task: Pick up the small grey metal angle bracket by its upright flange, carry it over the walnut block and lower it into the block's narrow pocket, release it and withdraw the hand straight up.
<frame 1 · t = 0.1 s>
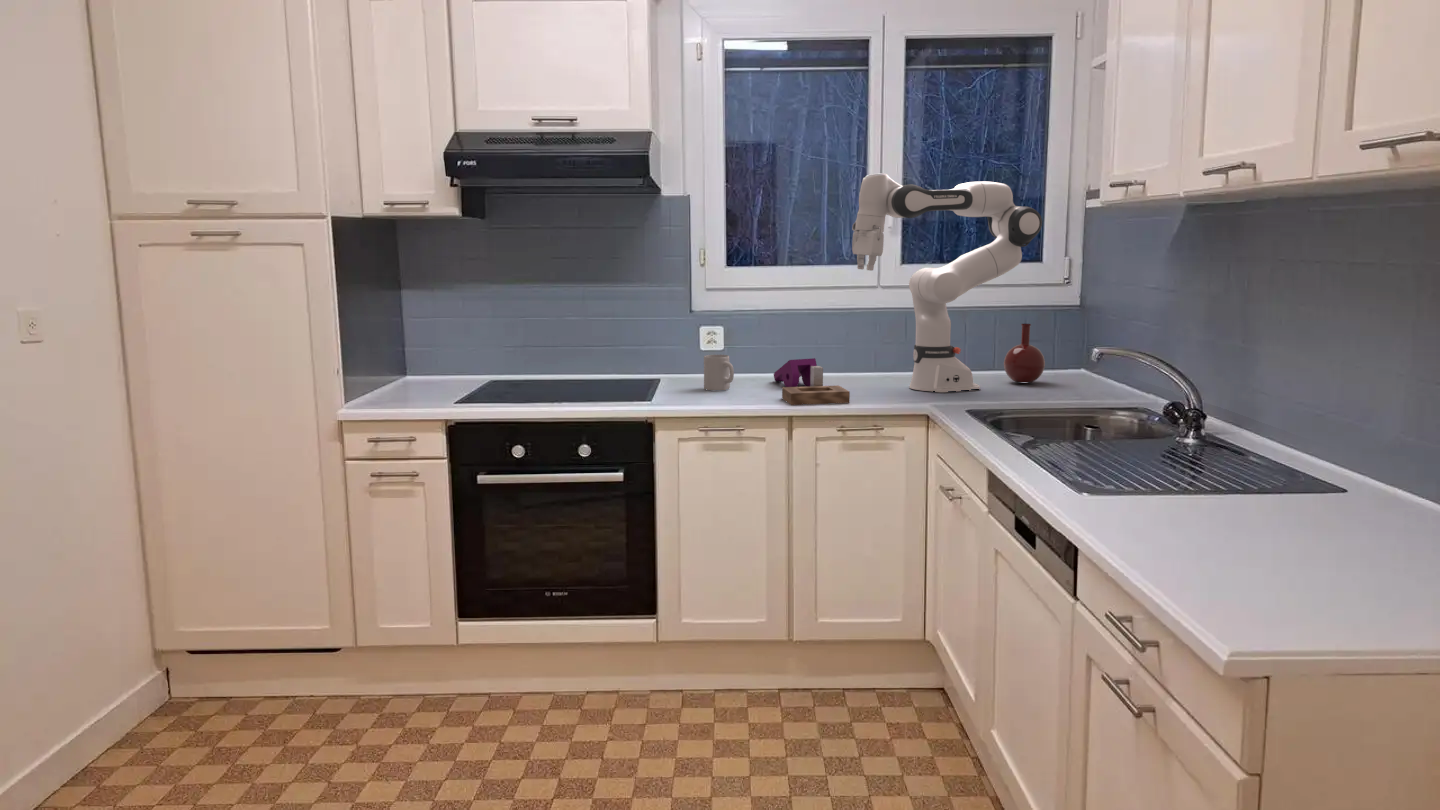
hand: (865, 269, 311), 39 cm above the countertop, tool pointing down, fingers open, 8 cm apart
mounting bracket: (793, 385, 333), on the countertop
well block: (815, 400, 300), on the countertop
angle bracket: (816, 395, 311), on the countertop
round-bottom flask: (1023, 384, 331), on the countertop
mug: (720, 390, 323), on the countertop
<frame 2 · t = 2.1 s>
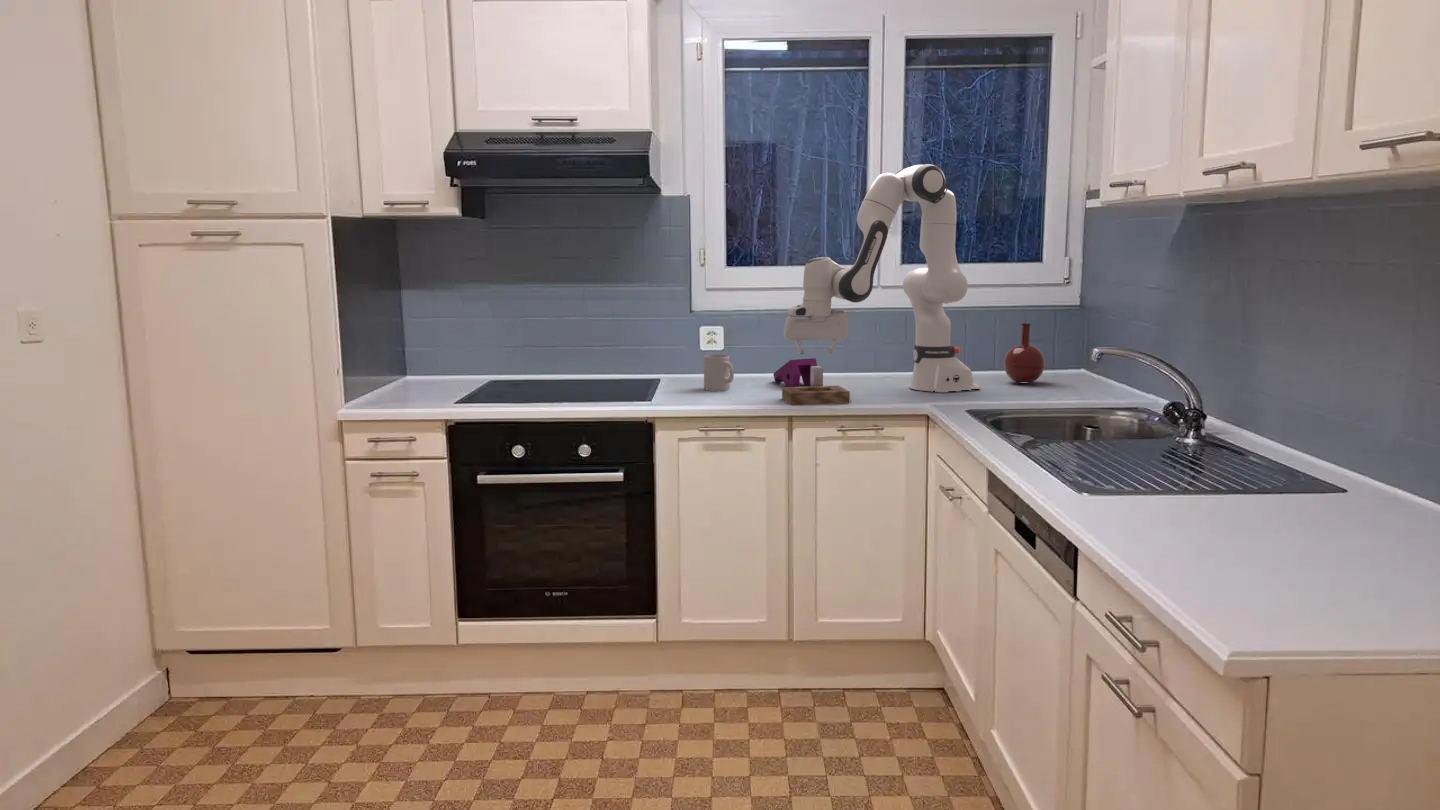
hand: (815, 353, 308), 13 cm above the countertop, tool pointing down, fingers open, 8 cm apart
nothing on the countertop moved.
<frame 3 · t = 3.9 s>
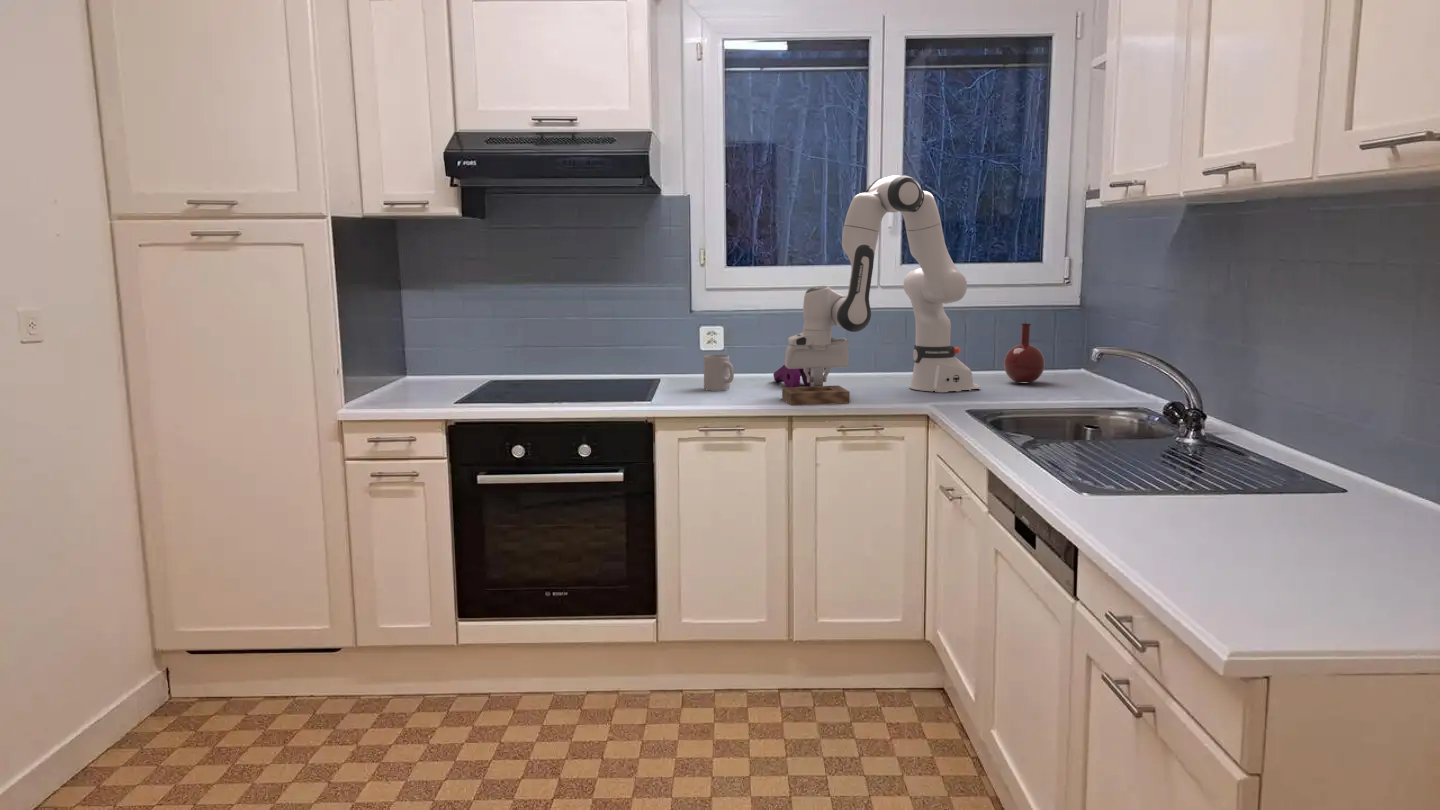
hand: (816, 382, 310), 4 cm above the countertop, tool pointing down, fingers closed on angle bracket, 3 cm apart
angle bracket: (816, 395, 311), on the countertop, touching gripper
everything else where it was.
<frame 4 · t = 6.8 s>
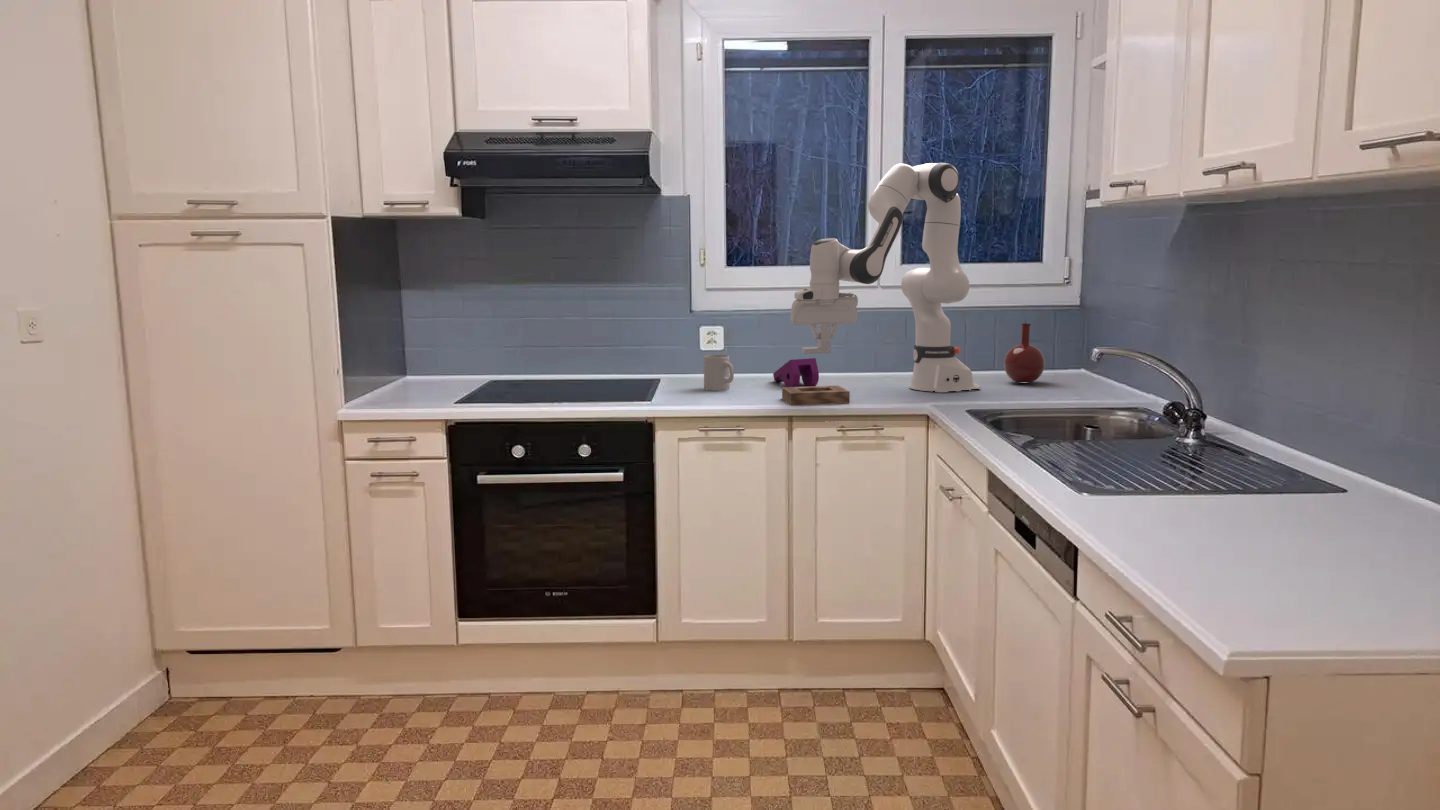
hand: (823, 339, 297), 19 cm above the countertop, tool pointing down, fingers closed on angle bracket, 3 cm apart
angle bracket: (823, 352, 298), point 15 cm above the countertop, touching gripper
everything else where it was.
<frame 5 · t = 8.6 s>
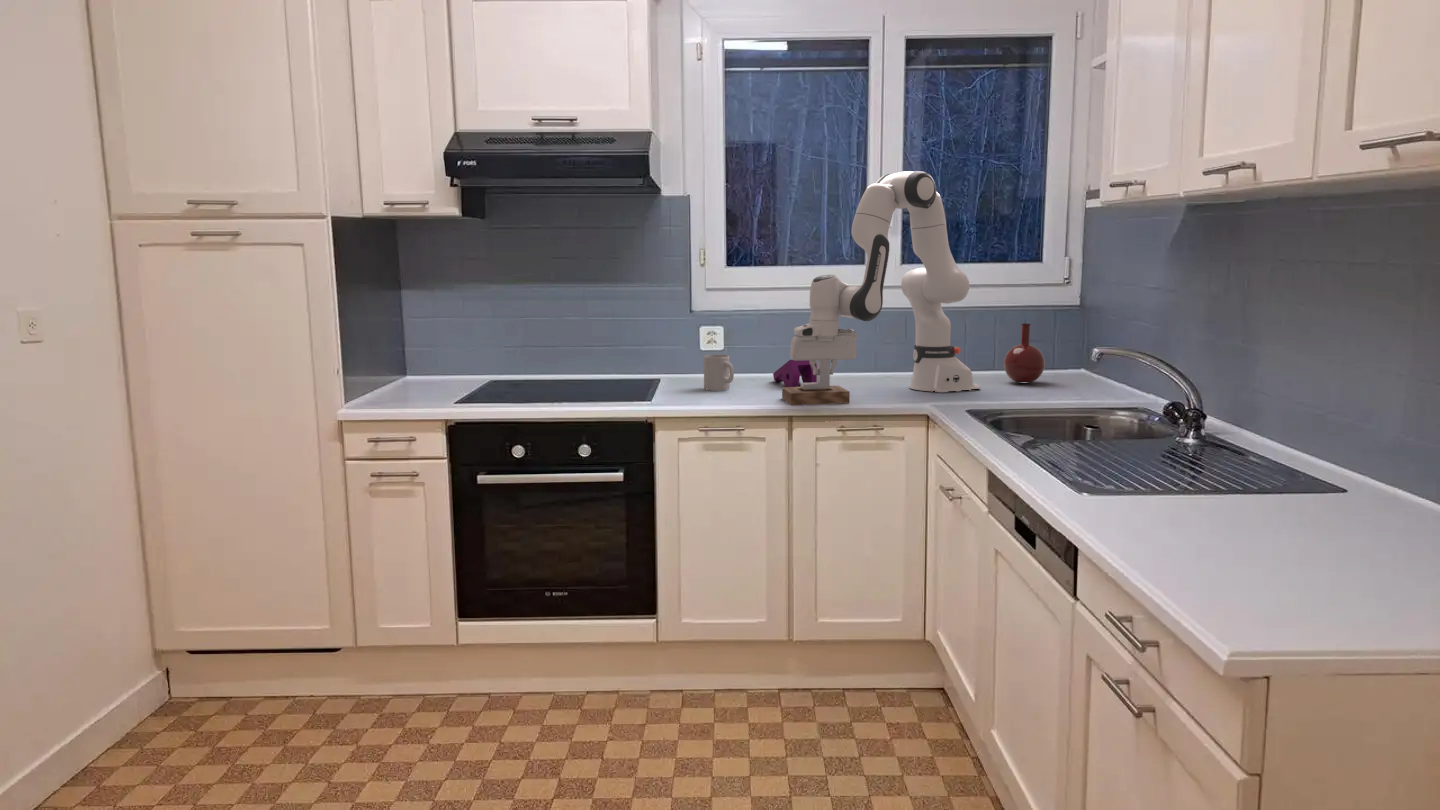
hand: (823, 374, 299), 8 cm above the countertop, tool pointing down, fingers closed on angle bracket, 3 cm apart
angle bracket: (822, 388, 300), point 4 cm above the countertop, touching gripper
everything else where it was.
when the fingers open (5 cm above the countertop, at t = 9.9 s): angle bracket stays where it is, resting in well block.
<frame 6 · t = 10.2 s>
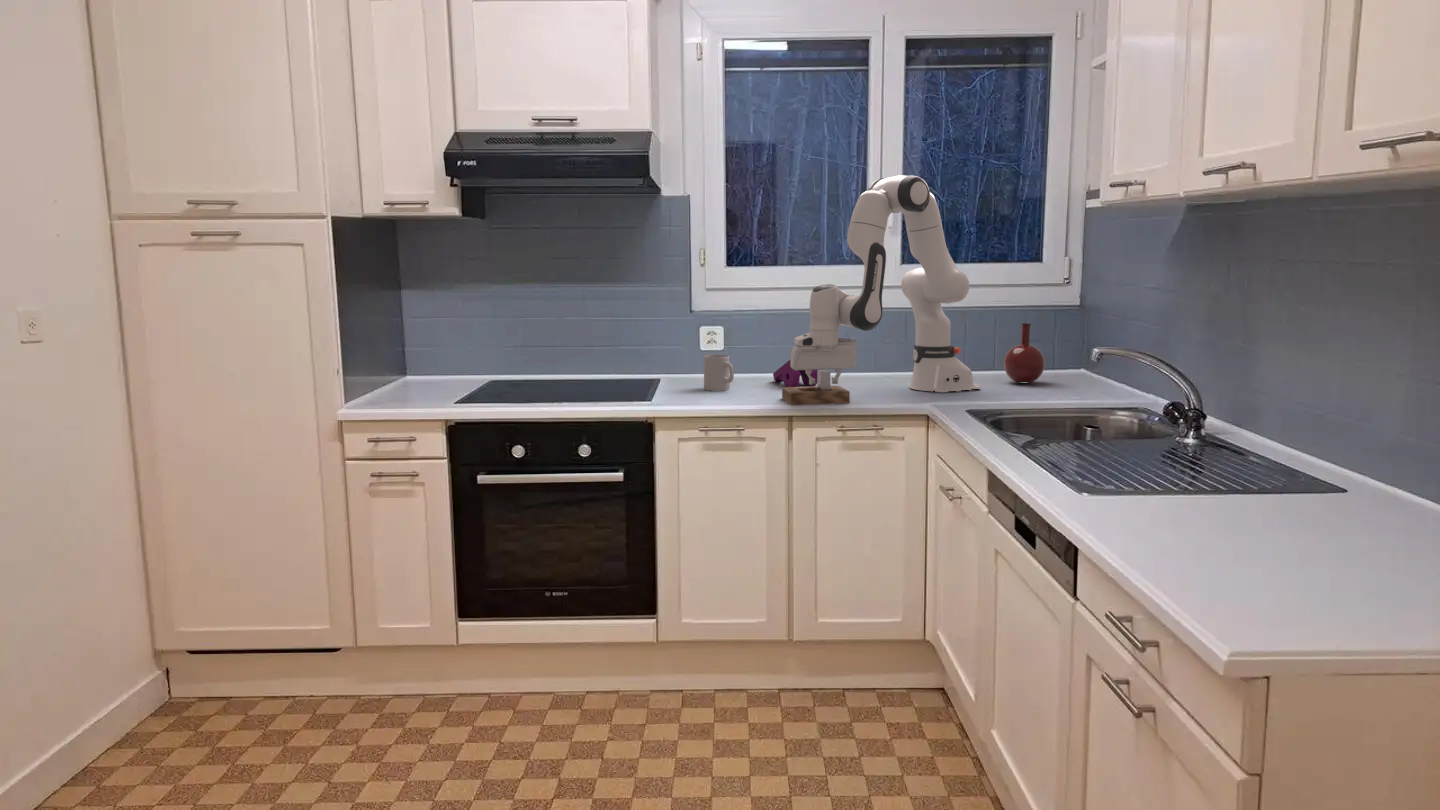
hand: (823, 383, 300), 5 cm above the countertop, tool pointing down, fingers open, 6 cm apart
angle bracket: (823, 400, 301), resting in well block
everything else where it was.
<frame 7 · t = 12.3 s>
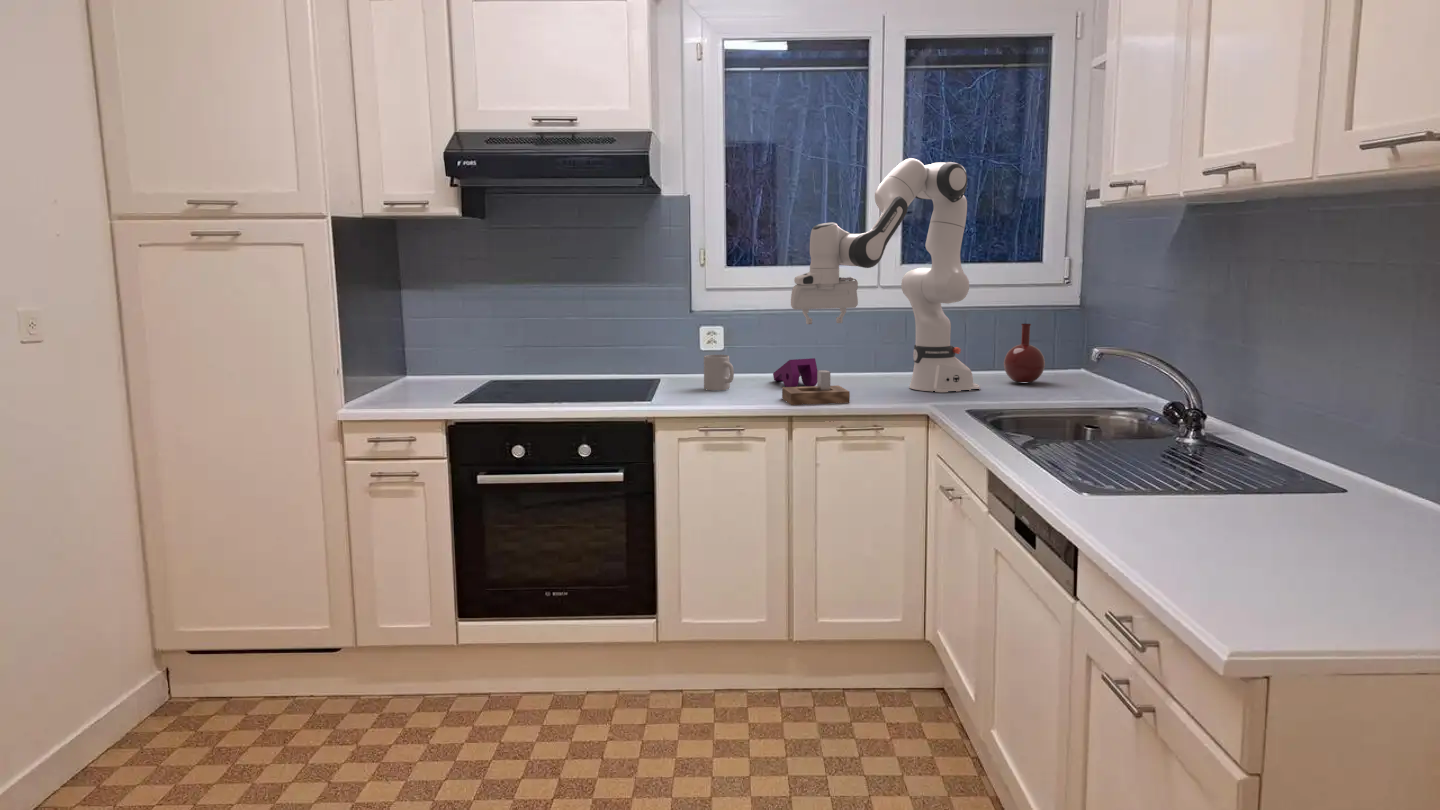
hand: (824, 323, 298), 23 cm above the countertop, tool pointing down, fingers open, 8 cm apart
nothing on the countertop moved.
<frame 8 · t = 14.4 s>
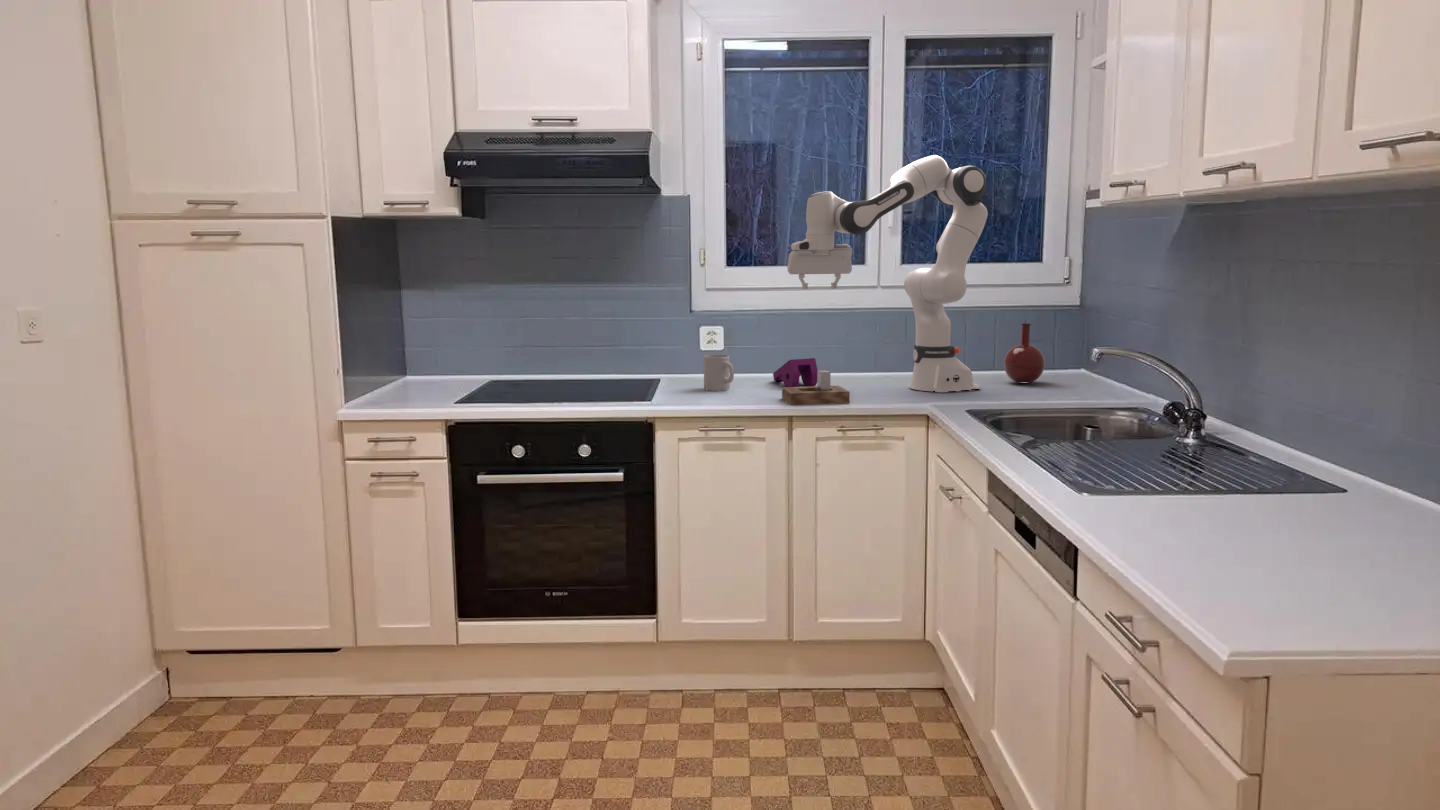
hand: (819, 288, 310), 33 cm above the countertop, tool pointing down, fingers open, 8 cm apart
nothing on the countertop moved.
at the end: angle bracket 0.1 cm from the target spot on the well block, point 0.0 cm above the well block's base; angle bracket tilted 0°; the gripper is holding nothing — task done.
